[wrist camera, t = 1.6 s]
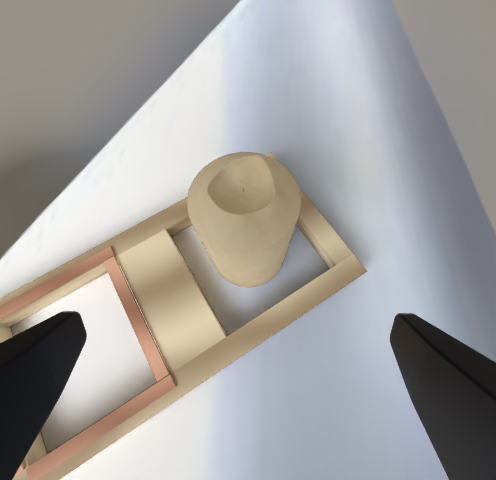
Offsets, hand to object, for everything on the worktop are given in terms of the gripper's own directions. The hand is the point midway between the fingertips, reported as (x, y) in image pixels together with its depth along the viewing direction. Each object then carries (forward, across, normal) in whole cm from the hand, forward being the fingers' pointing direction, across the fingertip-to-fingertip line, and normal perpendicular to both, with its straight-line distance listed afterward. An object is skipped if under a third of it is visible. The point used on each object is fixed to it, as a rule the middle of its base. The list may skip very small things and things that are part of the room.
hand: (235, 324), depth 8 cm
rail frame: (+10, +6, +7) cm, 13 cm away
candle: (+13, 0, +4) cm, 14 cm away
